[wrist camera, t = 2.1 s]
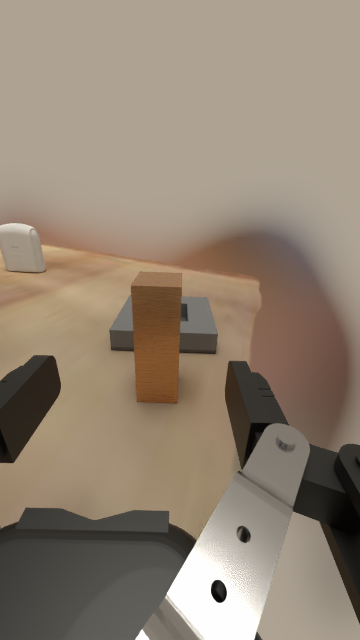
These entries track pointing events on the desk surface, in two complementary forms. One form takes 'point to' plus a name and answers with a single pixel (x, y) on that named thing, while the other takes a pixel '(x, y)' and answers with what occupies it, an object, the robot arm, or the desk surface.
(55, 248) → the desk surface
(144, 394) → the bracket post
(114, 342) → the well stand
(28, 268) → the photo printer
